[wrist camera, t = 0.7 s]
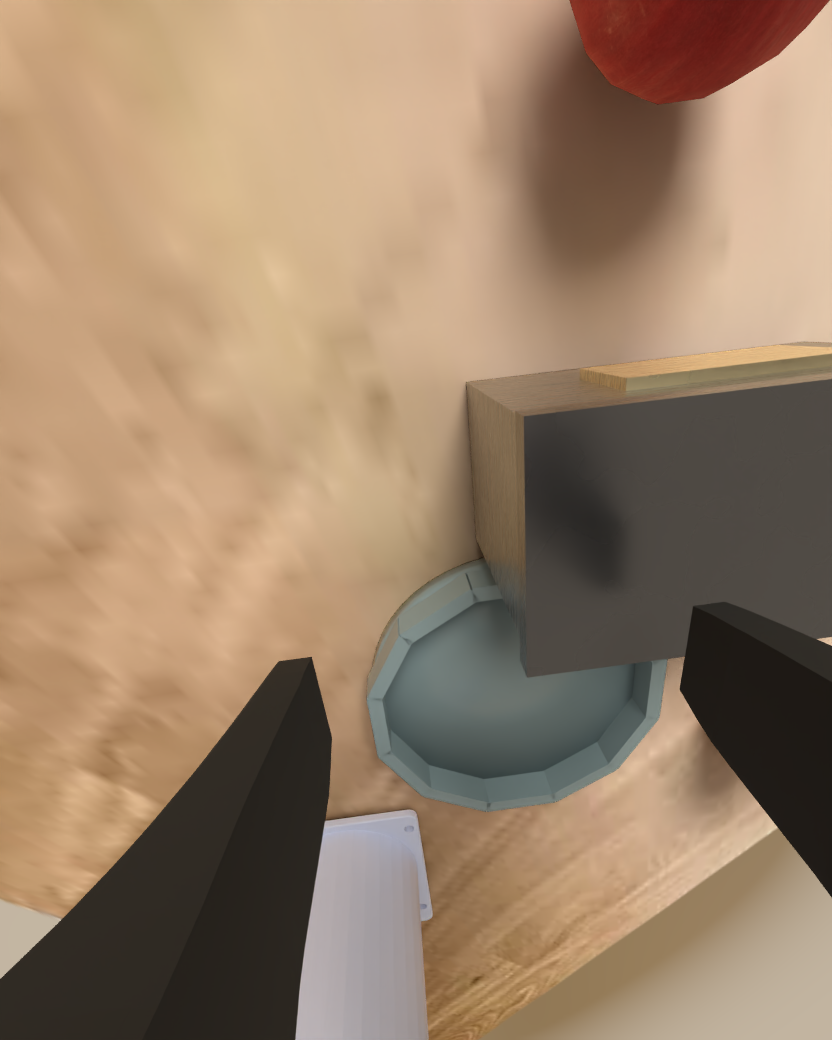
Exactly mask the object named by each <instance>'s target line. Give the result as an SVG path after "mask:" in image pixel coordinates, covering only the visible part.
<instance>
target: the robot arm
mask: <svg viewBox="0 0 832 1040" xmlns="http://www.w3.org/2000/svg"><path fill="white" fill-rule="evenodd" d="M680 691H681V692H682V694H683V696H684V698H685V699H686V701H687V703H688V704H689V706H690V708H691V710H692V711H693V713H694V715H695V716H696V718H697V720H698V721H699V723H700V724H701V726H702V728H703V729H704V731H705V732H706V734H707V736H708V737H709V739H710V740H711V742H712V743H713V744H714V746H715V747H716V748H717V750H718V751H719V752H720V754H721V755H722V756H723V758H724V759H725V760H726V762H727V763H728V764H729V765H730V767H731V768H732V769H733V771H734V772H735V773H736V775H737V776H738V777H739V778H740V780H741V781H742V782H743V784H744V785H745V786H746V787H747V789H748V790H749V791H750V793H751V794H752V795H753V796H754V798H755V799H756V800H757V801H758V803H759V804H760V805H761V807H762V808H763V809H764V810H765V812H766V813H767V814H768V815H769V817H770V818H771V819H772V821H773V822H774V823H775V824H776V826H777V827H778V828H779V829H780V831H781V832H782V833H783V835H784V836H785V837H786V838H787V840H788V841H789V842H790V843H791V845H792V846H793V847H794V848H795V850H796V851H797V852H798V854H799V855H800V856H801V857H802V859H803V860H804V861H805V863H806V864H807V865H808V866H809V868H810V869H811V870H812V871H813V873H814V874H815V875H816V877H817V878H818V879H819V881H820V882H821V884H822V885H823V886H824V887H825V889H826V890H827V891H828V893H829V894H830V896H831V897H832V646H831V645H828V644H826V643H824V642H821V641H819V640H817V639H814V638H812V637H810V636H808V635H805V634H803V633H801V632H798V631H796V630H794V629H791V628H789V627H787V626H785V625H782V624H780V623H778V622H775V621H773V620H770V619H768V618H766V617H763V616H761V615H759V614H756V613H754V612H751V611H749V610H746V609H744V608H741V607H738V606H736V605H733V604H730V603H727V602H719V603H711V604H704V605H696V606H693V609H692V615H691V622H690V628H689V634H688V641H687V647H686V653H685V660H684V666H683V672H682V678H681V685H680ZM331 745H332V736H331V732H330V728H329V724H328V720H327V716H326V712H325V708H324V704H323V700H322V696H321V692H320V688H319V685H318V681H317V677H316V673H315V669H314V665H313V661H312V657H308V658H300V659H293V660H285V661H279V662H278V663H277V664H276V665H275V667H274V668H273V669H272V671H271V672H270V673H269V675H268V676H267V677H266V679H265V680H264V681H263V683H262V684H261V685H260V687H259V688H258V689H257V691H256V692H255V694H254V695H253V696H252V698H251V699H250V700H249V702H248V703H247V704H246V706H245V707H244V708H243V710H242V711H241V712H240V714H239V715H238V716H237V718H236V719H235V720H234V722H233V723H232V725H231V726H230V727H229V728H228V730H227V731H226V732H225V734H224V735H223V736H222V737H221V739H220V740H219V741H218V743H217V744H216V745H215V746H214V748H213V749H212V750H211V752H210V753H209V754H208V755H207V757H206V758H205V759H204V761H203V762H202V763H201V764H200V766H199V767H198V768H197V769H196V771H195V772H194V773H193V774H192V776H191V777H190V778H189V779H188V780H187V782H186V783H185V784H184V785H183V786H182V788H181V789H180V790H179V791H178V792H177V793H176V795H175V796H174V797H173V798H172V799H171V801H170V802H169V803H168V804H167V805H166V807H165V808H164V809H163V810H162V811H161V813H160V814H159V815H158V816H157V817H156V819H155V820H154V821H153V822H152V823H151V824H150V826H149V827H148V828H147V829H146V830H145V831H144V832H143V833H142V835H141V836H140V837H139V838H138V839H137V840H136V841H135V842H134V844H133V845H132V846H131V847H130V848H129V849H128V850H127V851H126V853H125V854H124V855H123V856H122V857H121V858H120V859H119V860H118V861H117V862H116V863H115V865H114V866H113V867H112V868H111V869H110V870H109V871H108V872H107V873H106V874H105V875H104V876H103V877H102V878H101V879H100V880H99V881H98V883H97V884H96V885H95V886H94V887H93V888H92V889H91V890H90V891H89V892H88V893H87V894H86V895H85V896H84V897H83V898H82V899H81V900H80V901H79V902H78V904H77V905H76V906H75V907H74V908H73V909H72V910H71V911H70V912H69V913H68V914H67V915H66V916H65V917H64V918H63V919H62V920H61V921H60V922H59V923H58V924H57V925H56V926H55V927H54V928H53V929H52V930H51V931H50V932H49V933H48V934H46V936H44V937H43V938H42V939H41V940H40V941H39V942H38V943H37V944H36V945H35V946H34V947H33V948H32V949H31V950H30V951H29V952H28V953H27V954H26V955H25V956H24V957H23V958H22V959H21V960H20V961H19V962H18V963H16V965H14V966H13V967H12V968H11V969H10V970H9V971H8V972H7V973H6V974H5V975H4V976H3V977H2V978H1V979H0V1040H429V1037H428V1022H427V1007H426V992H425V976H424V961H423V946H422V931H421V921H426V920H429V919H430V918H431V917H432V915H433V912H432V904H431V898H430V891H429V885H428V879H427V873H426V866H425V860H424V854H423V848H422V841H421V835H420V829H419V822H418V816H417V813H416V812H415V811H413V810H410V809H407V810H400V811H392V812H385V813H378V814H371V815H364V816H357V817H350V818H342V819H335V820H328V821H325V818H326V811H327V804H328V798H329V785H330V768H331Z"/></svg>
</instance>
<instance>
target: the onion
mask: <svg viewBox="0 0 832 1040" xmlns="http://www.w3.org/2000/svg"><path fill="white" fill-rule="evenodd" d="M829 1H830V0H570V3H571V7H572V10H573V13H574V16H575V19H576V23H577V26H578V29H579V32H580V35H581V39H582V42H583V45H584V48H585V51H586V54H587V55H588V56H589V57H590V59H591V60H592V61H593V62H594V64H595V65H596V66H597V68H598V69H599V70H600V71H601V73H602V74H603V75H604V76H605V78H606V79H607V80H608V81H609V83H610V84H611V85H614V86H616V87H618V88H620V89H622V90H625V91H627V92H629V93H631V94H633V95H636V96H638V97H640V98H642V99H645V100H647V101H650V102H653V103H656V104H665V103H672V102H679V101H686V100H694V99H701V98H705V97H706V96H708V95H710V94H712V93H714V92H716V91H718V90H720V89H722V88H724V87H726V86H728V85H730V84H731V83H733V82H735V81H736V80H738V79H739V78H741V77H743V76H744V75H746V74H748V73H749V72H751V71H753V70H754V69H756V68H757V67H759V66H761V65H762V64H764V63H766V62H767V61H769V60H770V59H772V58H774V57H775V56H777V55H778V54H779V53H780V52H782V51H783V50H784V49H785V48H786V47H787V46H788V45H789V44H790V43H791V42H792V41H793V40H794V39H795V38H796V37H797V36H798V35H799V34H800V33H801V32H802V31H803V30H804V29H805V28H806V27H807V26H808V25H809V24H810V23H811V21H812V20H813V19H814V18H815V17H816V16H817V14H818V13H819V12H820V11H821V10H822V9H823V7H824V6H825V5H826V4H827V3H828V2H829Z"/></svg>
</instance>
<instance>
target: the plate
mask: <svg viewBox="0 0 832 1040" xmlns="http://www.w3.org/2000/svg"><path fill="white" fill-rule="evenodd" d="M667 660H668V659H663V660H655V661H648V662H640V663H633V664H625V665H618V666H611V667H603V668H596V669H588V670H581V671H573V672H566V673H558V674H551V675H543V676H536V677H529V678H527V676H526V674H525V672H524V669H523V667H522V664H521V662H520V636H519V633H518V631H517V629H516V627H515V624H514V622H513V620H512V618H511V615H510V613H509V611H508V609H507V607H506V604H505V602H504V600H503V598H502V595H501V593H500V591H499V589H498V586H497V584H496V582H495V580H494V578H493V575H492V573H491V571H490V569H489V566H488V564H487V562H486V560H485V558H482V559H478V560H475V561H472V562H469V563H465V564H462V565H460V566H458V567H456V568H453V569H451V570H449V571H447V572H444V573H443V574H441V575H439V576H438V577H436V578H434V579H432V580H431V581H429V582H428V583H426V584H425V585H424V586H422V587H421V588H420V589H418V590H417V591H416V592H414V593H413V594H412V595H411V596H410V597H409V598H408V599H407V600H406V601H405V602H404V603H403V604H402V605H401V606H400V607H399V609H398V610H397V611H396V612H395V614H394V615H393V616H392V618H391V619H390V620H389V622H388V624H387V626H386V627H385V629H384V631H383V632H382V635H381V637H380V640H379V642H378V645H377V647H376V651H375V655H374V660H373V667H372V669H371V671H370V673H369V675H368V679H367V704H368V709H369V714H370V719H371V724H372V729H373V734H374V739H375V745H376V750H377V755H378V758H379V759H381V760H382V761H383V762H384V763H385V764H386V765H387V766H388V767H390V768H391V769H392V770H393V771H394V772H395V773H396V774H398V775H399V776H400V777H401V778H402V779H403V780H404V781H405V782H407V783H408V784H409V785H410V786H411V787H412V788H413V789H415V790H416V791H417V792H418V793H419V794H420V795H421V796H423V797H426V798H430V799H434V800H438V801H443V802H447V803H451V804H455V805H459V806H464V807H468V808H472V809H476V810H480V811H484V812H486V811H487V812H490V811H497V810H504V809H511V808H518V807H526V806H533V805H540V804H547V803H554V802H555V801H556V802H557V801H559V800H561V799H563V798H565V797H567V796H568V795H570V794H572V793H574V792H576V791H578V790H580V789H582V788H584V787H585V786H587V785H589V784H591V783H593V782H595V781H597V780H599V779H601V778H603V777H604V776H606V775H608V774H610V773H612V772H614V771H616V770H617V769H618V768H619V767H620V766H621V765H622V763H623V762H624V761H625V760H626V759H627V757H628V756H629V755H630V754H631V752H632V751H633V750H634V749H635V748H636V746H637V745H638V744H639V743H640V741H641V740H642V739H643V738H644V737H645V735H646V734H647V733H648V732H649V730H650V729H651V728H652V727H653V726H654V724H655V723H656V722H657V721H658V718H659V716H660V709H661V702H662V695H663V688H664V681H665V674H666V667H667Z"/></svg>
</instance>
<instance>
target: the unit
mask: <svg viewBox="0 0 832 1040" xmlns="http://www.w3.org/2000/svg"><path fill="white" fill-rule="evenodd" d="M466 385H467V401H468V418H469V434H470V451H471V467H472V484H473V501H474V517H475V534H476V540H477V542H478V544H479V546H480V549H481V551H482V553H483V555H484V557H485V560H486V562H487V564H488V566H489V569H490V571H491V573H492V575H493V578H494V580H495V582H496V584H497V586H498V589H499V591H500V593H501V595H502V598H503V600H504V602H505V604H506V607H507V609H508V611H509V613H510V615H511V618H512V620H513V622H514V624H515V627H516V629H517V631H518V633H519V636H520V662H521V664H522V667H523V669H524V672H525V674H526V676H527V678H529V677H536V676H543V675H551V674H558V673H566V672H573V671H581V670H588V669H596V668H603V667H611V666H618V665H625V664H633V663H640V662H648V661H655V660H663V659H670V658H678V657H685V653H686V647H687V641H688V634H689V628H690V622H691V615H692V609H693V606H696V605H704V604H711V603H719V602H727V603H730V604H733V605H736V606H738V607H741V608H744V609H746V610H749V611H751V612H754V613H756V614H759V615H761V616H763V617H766V618H768V619H770V620H773V621H775V622H778V623H780V624H782V625H785V626H787V627H789V628H791V629H794V630H796V631H798V632H801V633H803V634H805V635H808V636H810V637H812V638H814V639H819V638H826V637H832V343H825V342H798V343H790V344H782V345H773V346H765V347H756V348H748V349H740V350H731V351H723V352H715V353H706V354H698V355H689V356H681V357H673V358H664V359H656V360H647V361H639V362H631V363H622V364H614V365H605V366H597V367H589V368H580V369H572V370H564V371H555V372H547V373H538V374H530V375H522V376H513V377H505V378H496V379H488V380H480V381H471V382H466Z"/></svg>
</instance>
